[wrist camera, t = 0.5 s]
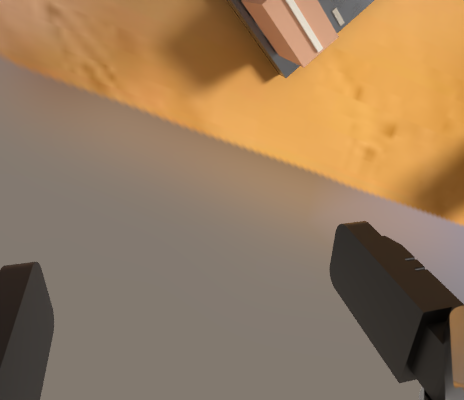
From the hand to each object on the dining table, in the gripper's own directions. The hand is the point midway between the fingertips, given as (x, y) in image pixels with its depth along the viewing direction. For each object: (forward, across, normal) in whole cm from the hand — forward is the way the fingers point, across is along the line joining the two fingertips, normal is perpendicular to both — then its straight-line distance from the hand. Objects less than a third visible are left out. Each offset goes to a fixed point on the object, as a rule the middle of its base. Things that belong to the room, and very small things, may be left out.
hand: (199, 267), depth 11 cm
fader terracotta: (+22, -10, -5) cm, 25 cm away
